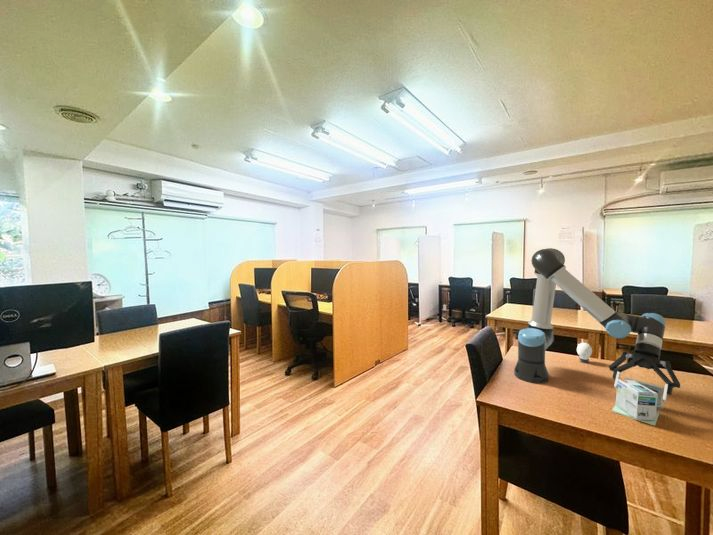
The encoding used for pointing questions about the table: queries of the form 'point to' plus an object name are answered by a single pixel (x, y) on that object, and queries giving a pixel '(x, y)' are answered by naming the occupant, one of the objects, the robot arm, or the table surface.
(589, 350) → the light bulb
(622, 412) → the pad
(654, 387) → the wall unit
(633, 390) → the light bulb box
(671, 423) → the table surface
